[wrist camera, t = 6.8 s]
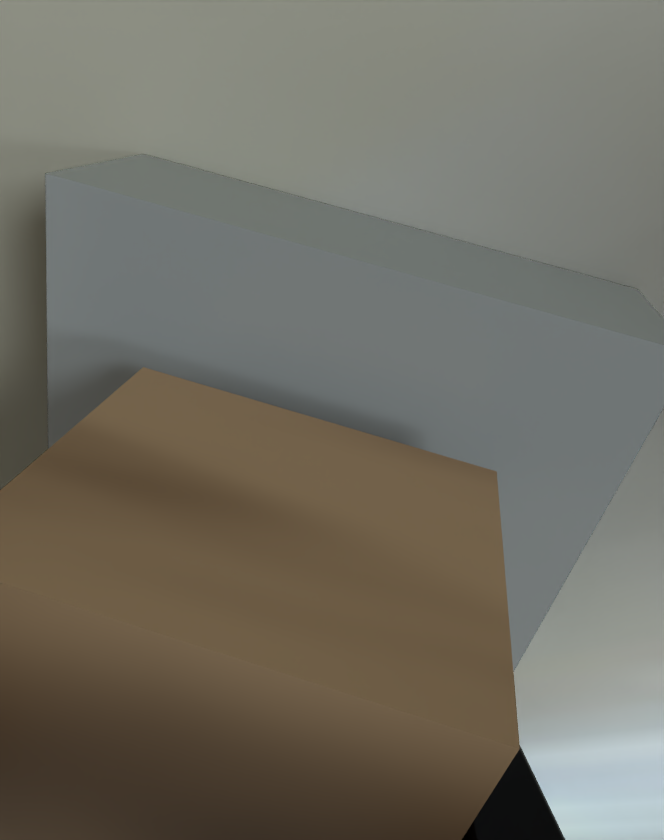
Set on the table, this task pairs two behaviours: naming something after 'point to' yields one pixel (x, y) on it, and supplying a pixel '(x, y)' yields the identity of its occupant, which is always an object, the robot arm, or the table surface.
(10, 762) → the block
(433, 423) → the base
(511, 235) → the table surface
